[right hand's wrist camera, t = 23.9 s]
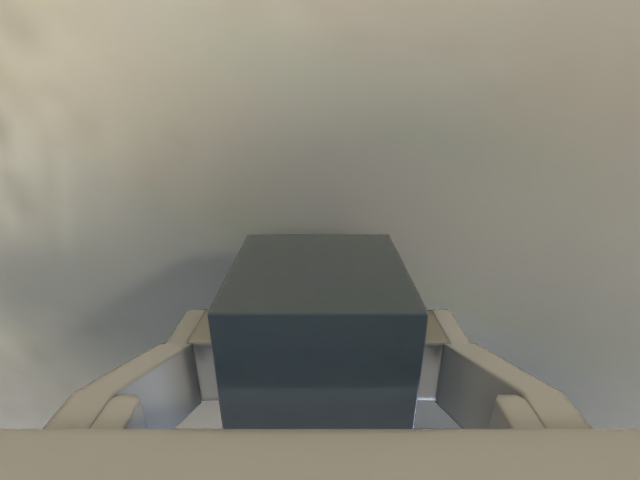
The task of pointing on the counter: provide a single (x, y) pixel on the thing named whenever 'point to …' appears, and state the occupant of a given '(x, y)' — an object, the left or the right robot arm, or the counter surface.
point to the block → (318, 335)
